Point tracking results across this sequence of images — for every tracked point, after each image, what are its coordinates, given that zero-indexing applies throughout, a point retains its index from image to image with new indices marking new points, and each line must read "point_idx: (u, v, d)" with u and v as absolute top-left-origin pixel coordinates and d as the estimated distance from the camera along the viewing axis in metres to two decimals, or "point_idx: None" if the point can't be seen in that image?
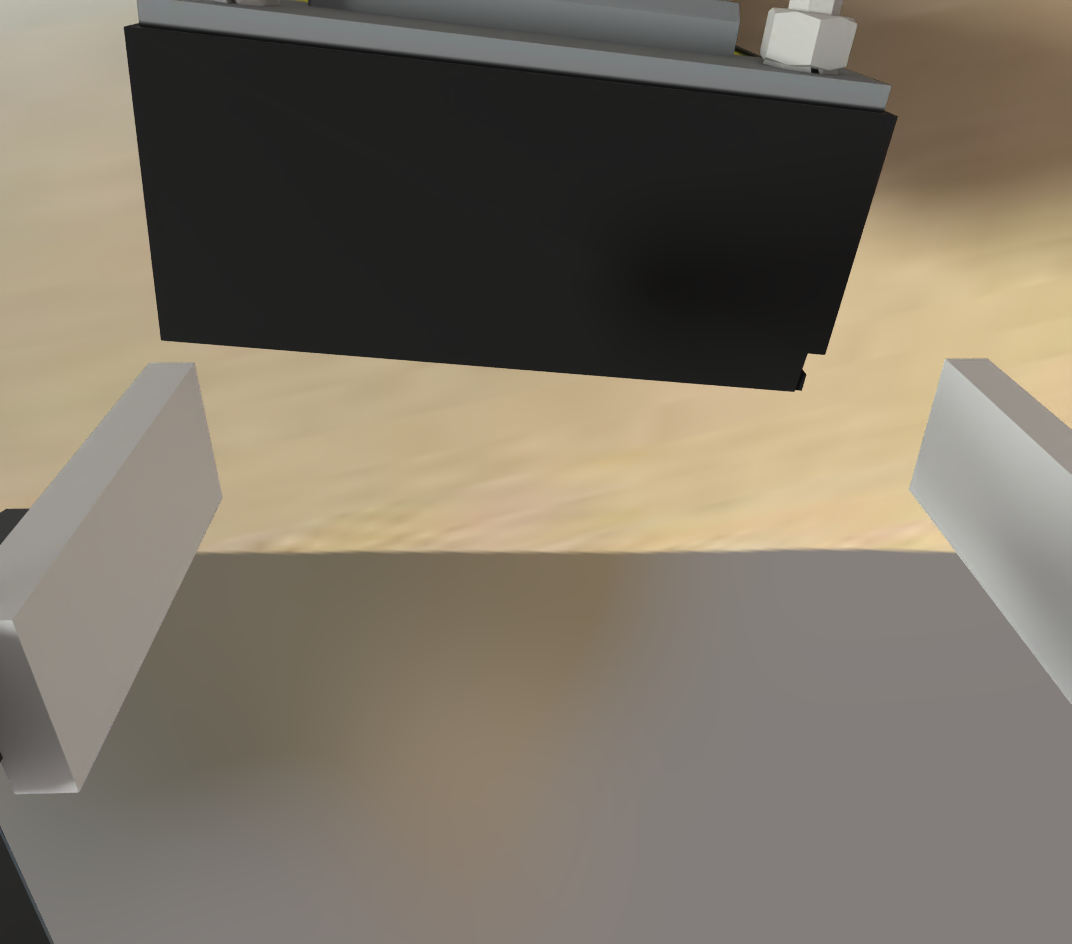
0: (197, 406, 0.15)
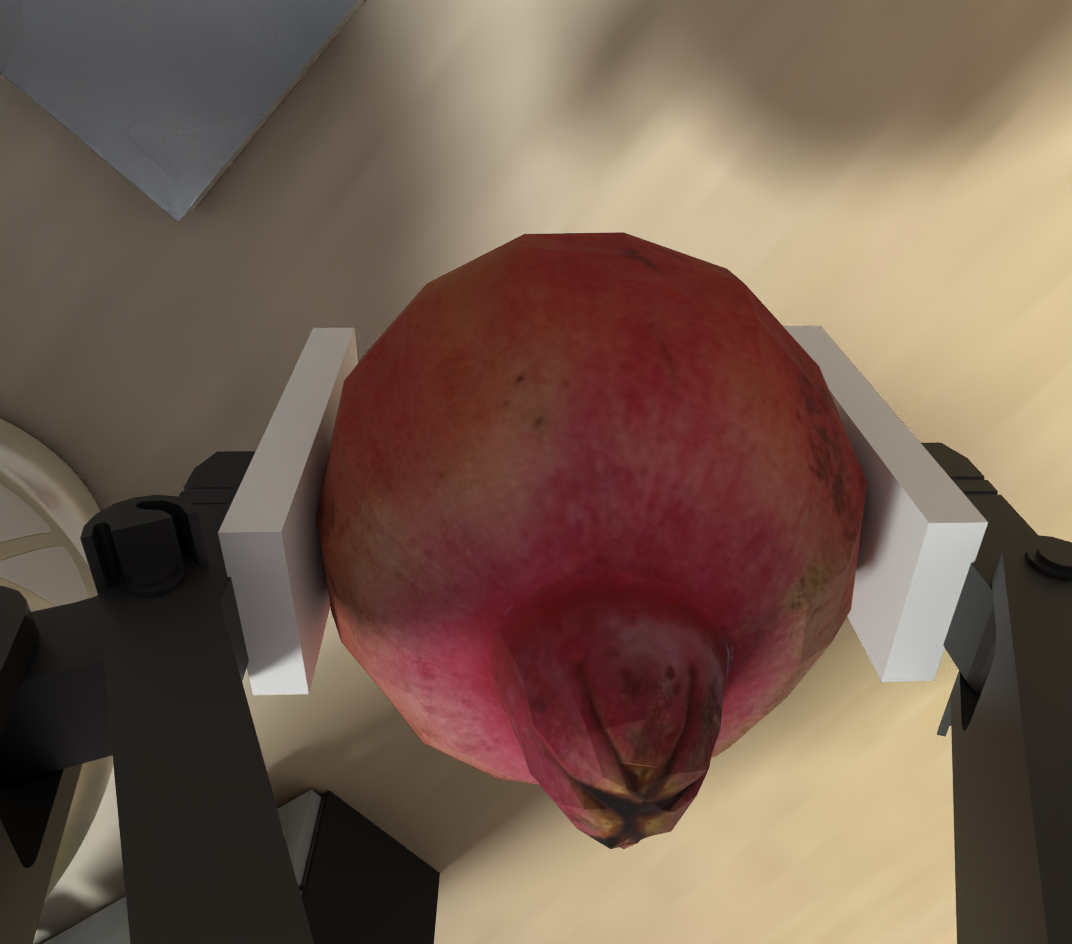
0: None
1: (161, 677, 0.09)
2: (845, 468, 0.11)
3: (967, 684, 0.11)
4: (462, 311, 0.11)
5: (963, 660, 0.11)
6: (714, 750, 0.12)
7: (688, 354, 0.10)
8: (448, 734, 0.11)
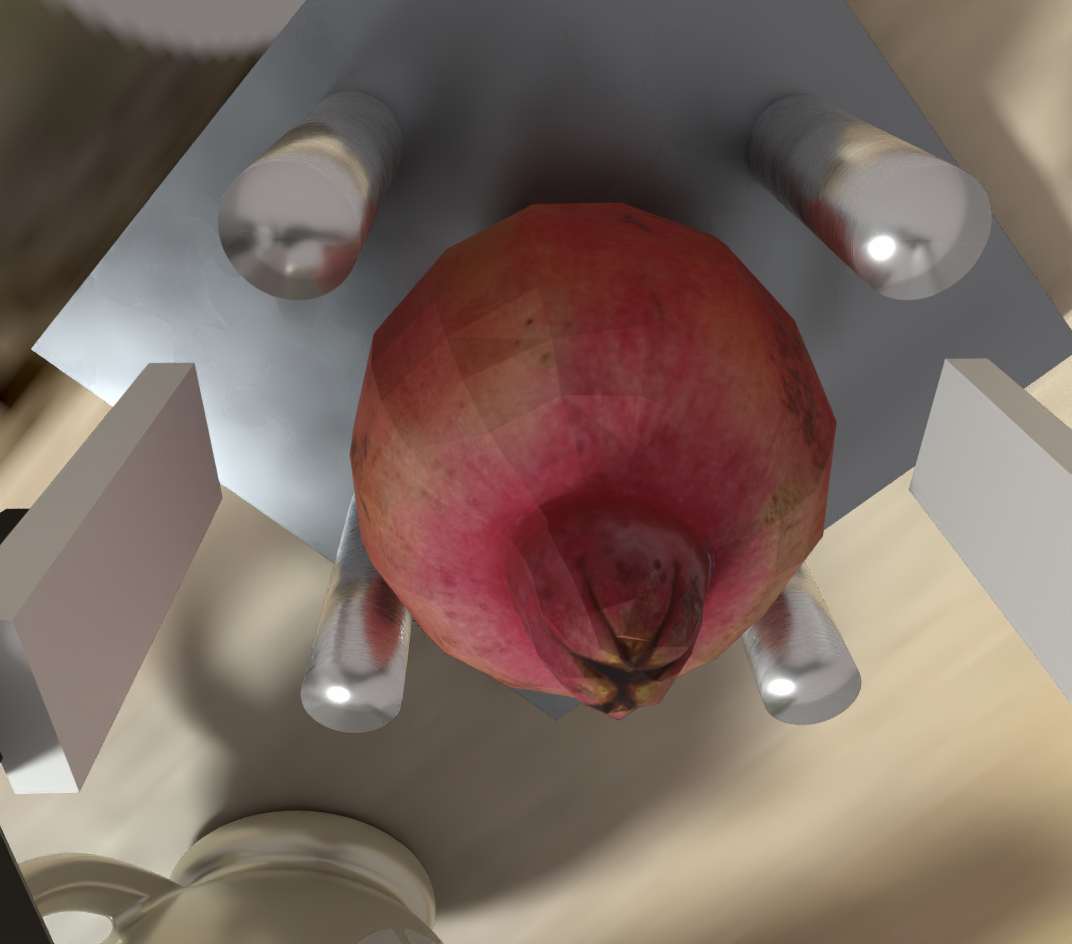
0: (197, 406, 0.15)
1: None
2: (815, 406, 0.13)
3: None
4: (479, 268, 0.13)
5: None
6: (700, 655, 0.13)
7: (675, 302, 0.12)
8: (467, 638, 0.13)
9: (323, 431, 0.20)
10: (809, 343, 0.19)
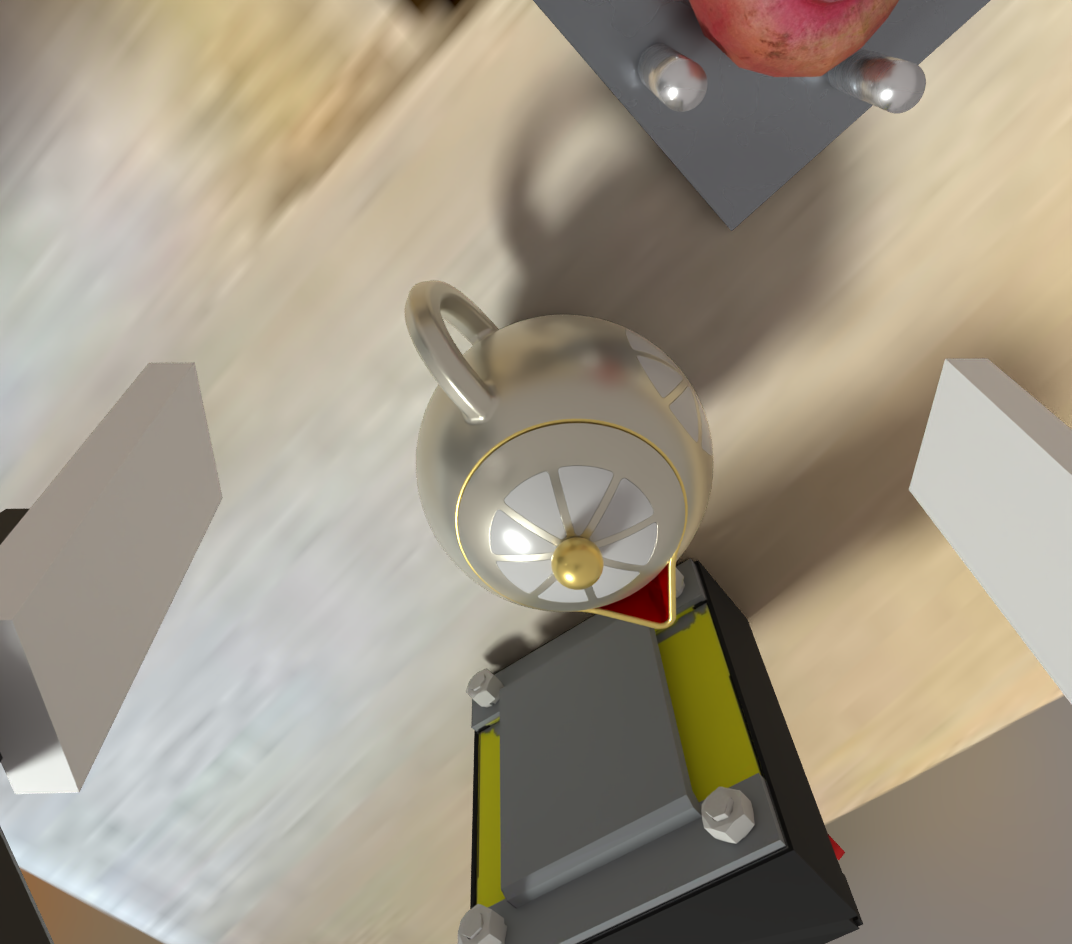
0: (197, 406, 0.15)
1: None
2: None
3: None
4: None
5: None
6: (862, 16, 0.30)
7: None
8: (764, 2, 0.30)
9: (631, 10, 0.37)
10: None
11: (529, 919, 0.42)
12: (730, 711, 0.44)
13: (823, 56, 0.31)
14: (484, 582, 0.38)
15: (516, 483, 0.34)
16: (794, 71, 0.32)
